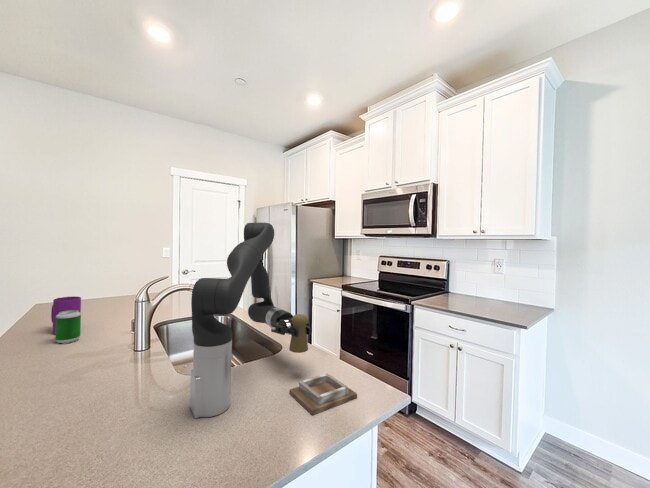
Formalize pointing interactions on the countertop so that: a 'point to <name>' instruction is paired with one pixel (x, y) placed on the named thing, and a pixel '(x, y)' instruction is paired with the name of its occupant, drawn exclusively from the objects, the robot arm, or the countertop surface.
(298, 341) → the olive pawn figure
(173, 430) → the countertop surface
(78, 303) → the mug
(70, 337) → the soda can
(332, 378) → the spice dock
